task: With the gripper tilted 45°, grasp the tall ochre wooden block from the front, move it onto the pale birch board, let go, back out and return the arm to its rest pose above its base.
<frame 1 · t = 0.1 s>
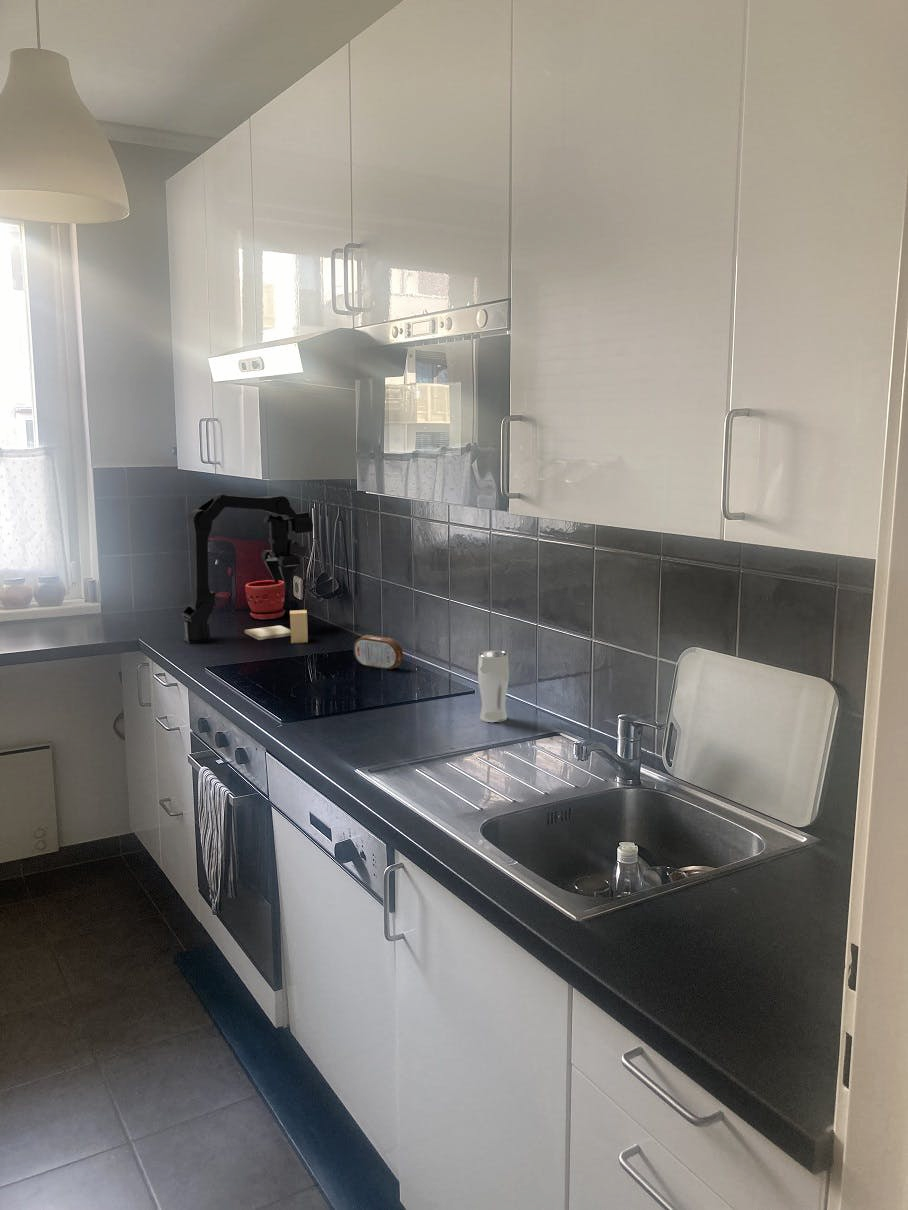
hand: (282, 584, 315), 15 cm above the worktop, tool pointing down, fingers open, 9 cm apart
ochre block: (299, 640, 301), on the worktop
plant pot: (266, 617, 338), on the worktop
tin: (377, 668, 269), on the worktop
birch board: (269, 634, 311), on the worktop
beer glass: (493, 719, 222), on the worktop
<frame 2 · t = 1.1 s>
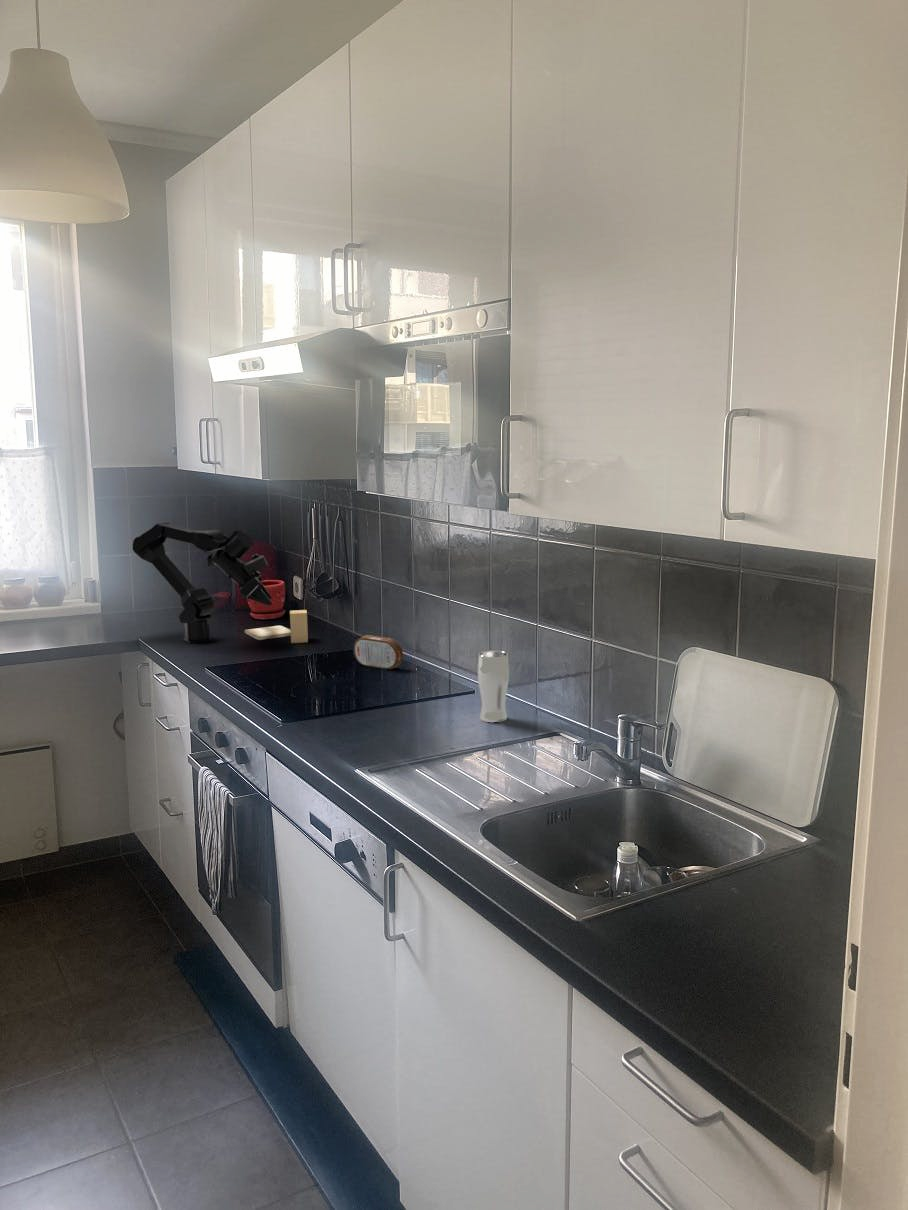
hand: (270, 601, 298), 12 cm above the worktop, tool tilted 45°, fingers open, 9 cm apart
nothing on the worktop moved.
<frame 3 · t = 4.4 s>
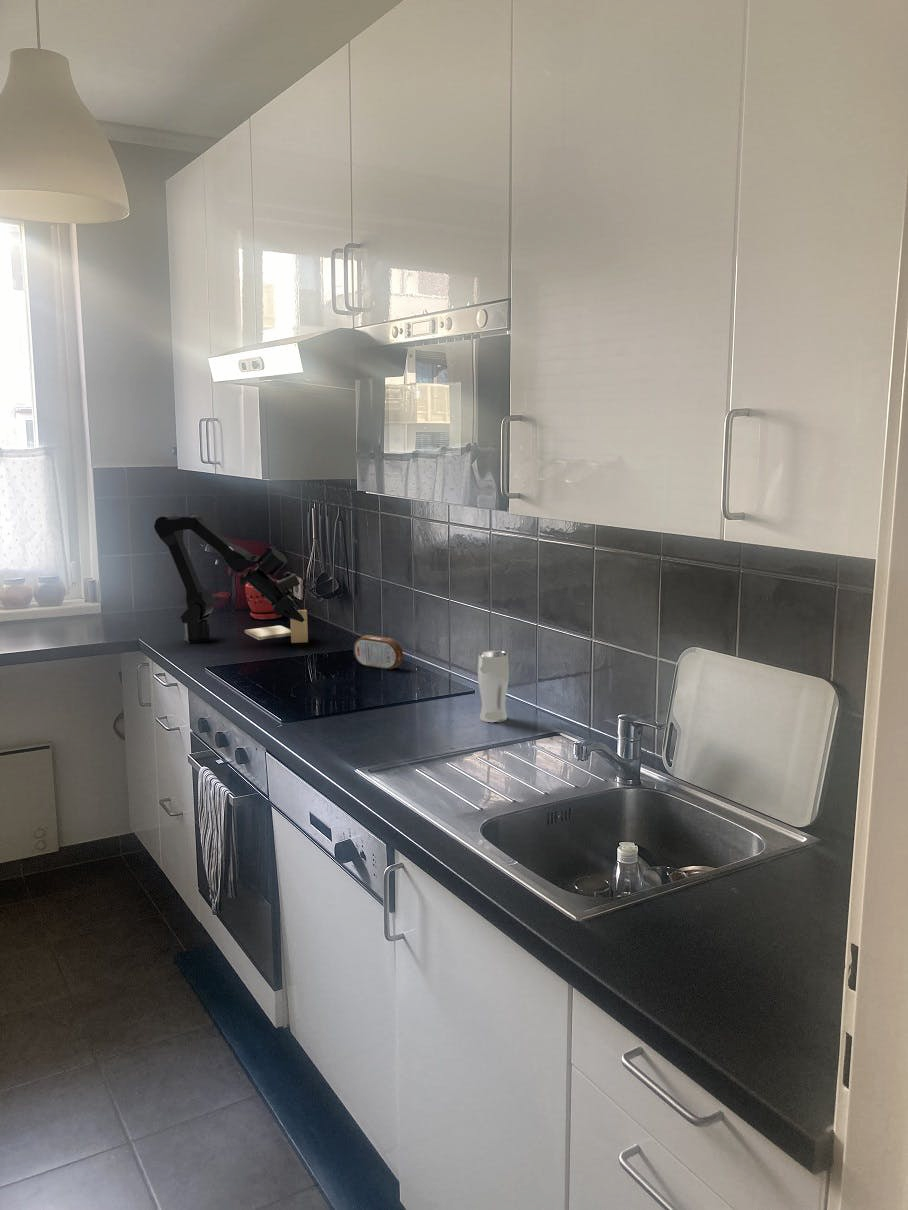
hand: (303, 619, 300), 7 cm above the worktop, tool tilted 45°, fingers closed on ochre block, 5 cm apart
ochre block: (299, 640, 301), on the worktop, touching gripper
everything else where it was.
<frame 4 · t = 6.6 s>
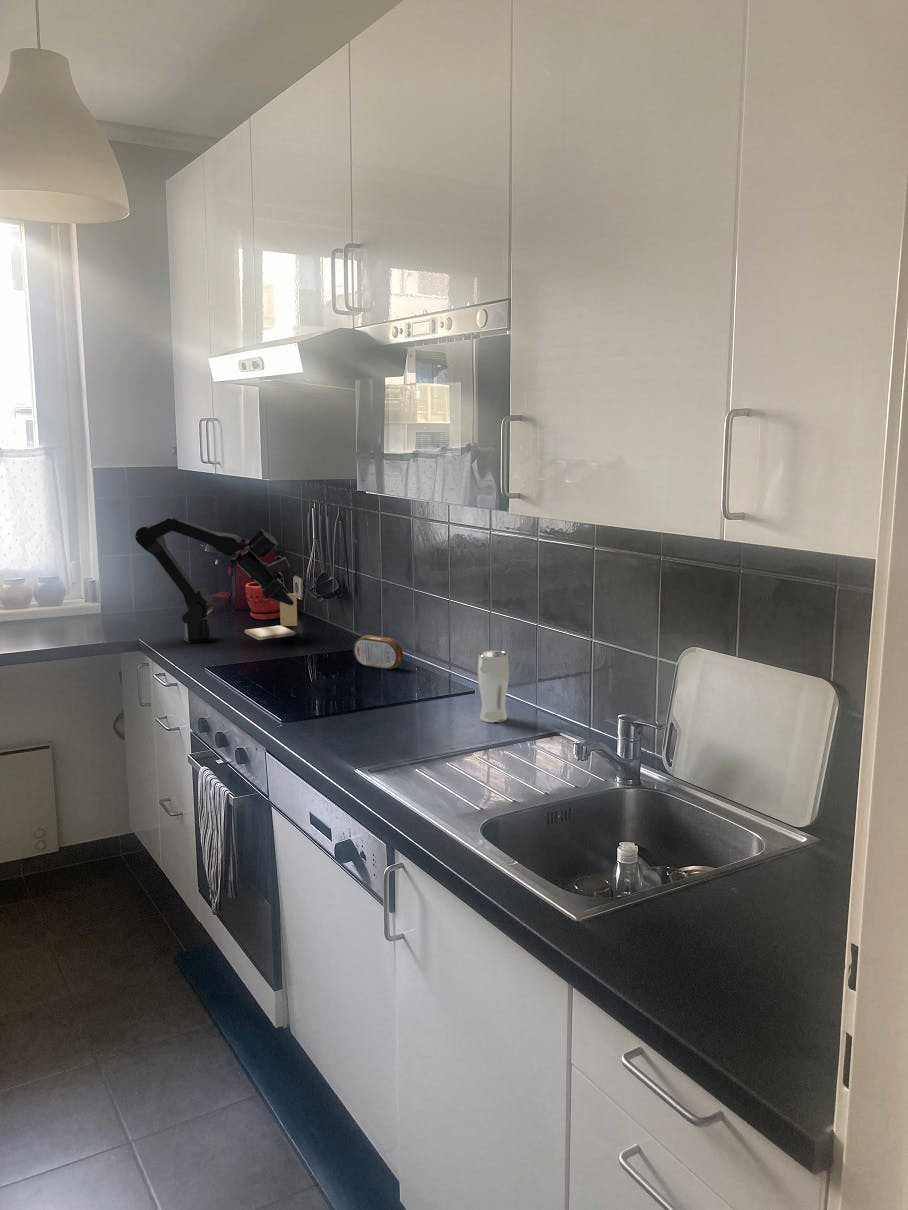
hand: (292, 602, 302), 11 cm above the worktop, tool tilted 45°, fingers closed on ochre block, 5 cm apart
ochre block: (288, 624, 303), point 5 cm above the worktop, touching gripper
everything else where it was.
when the fingers open (8 cm above the worktop, at t = 8.8 s): ochre block stays where it is, resting on birch board.
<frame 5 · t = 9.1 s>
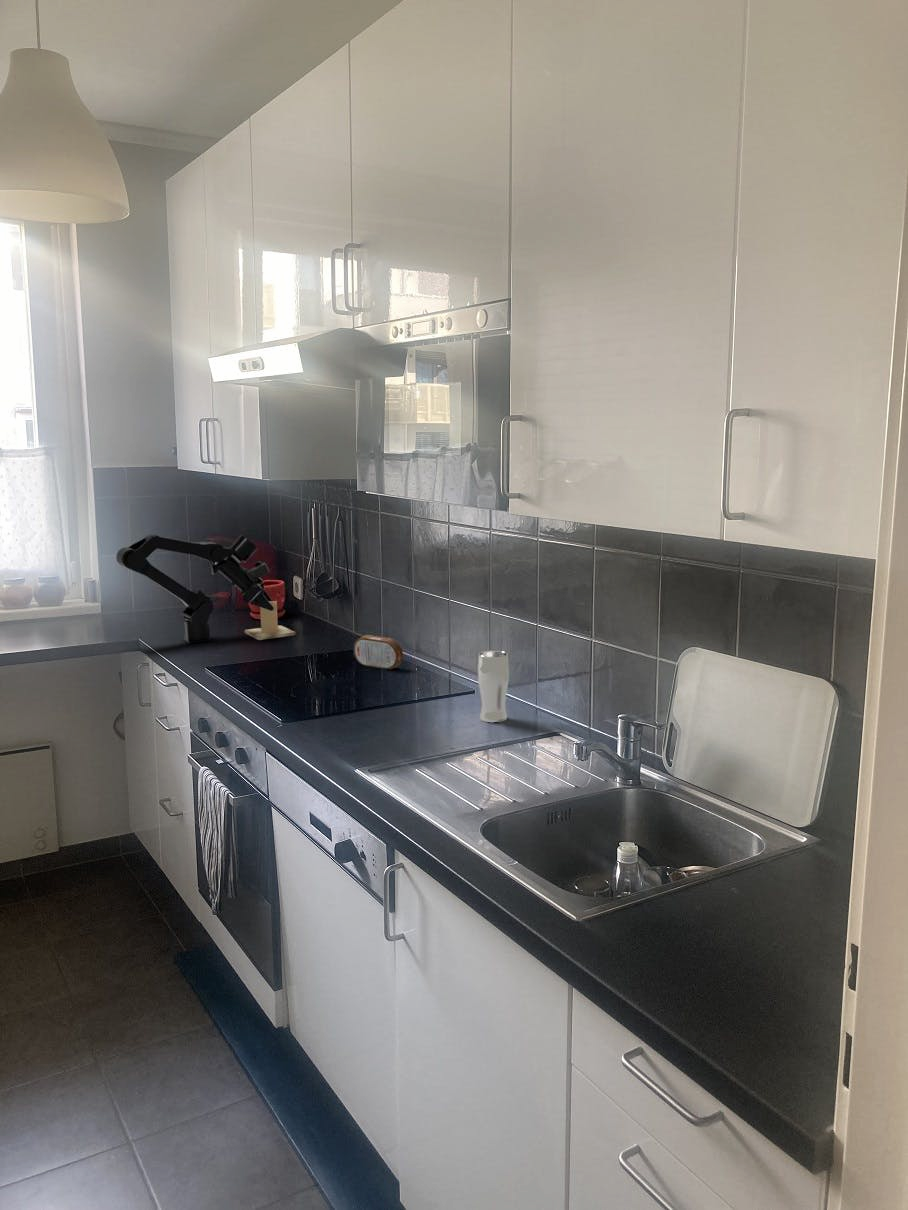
hand: (273, 607, 310), 9 cm above the worktop, tool tilted 45°, fingers open, 8 cm apart
ochre block: (269, 630, 311), point 1 cm above the worktop, touching birch board
everything else where it was.
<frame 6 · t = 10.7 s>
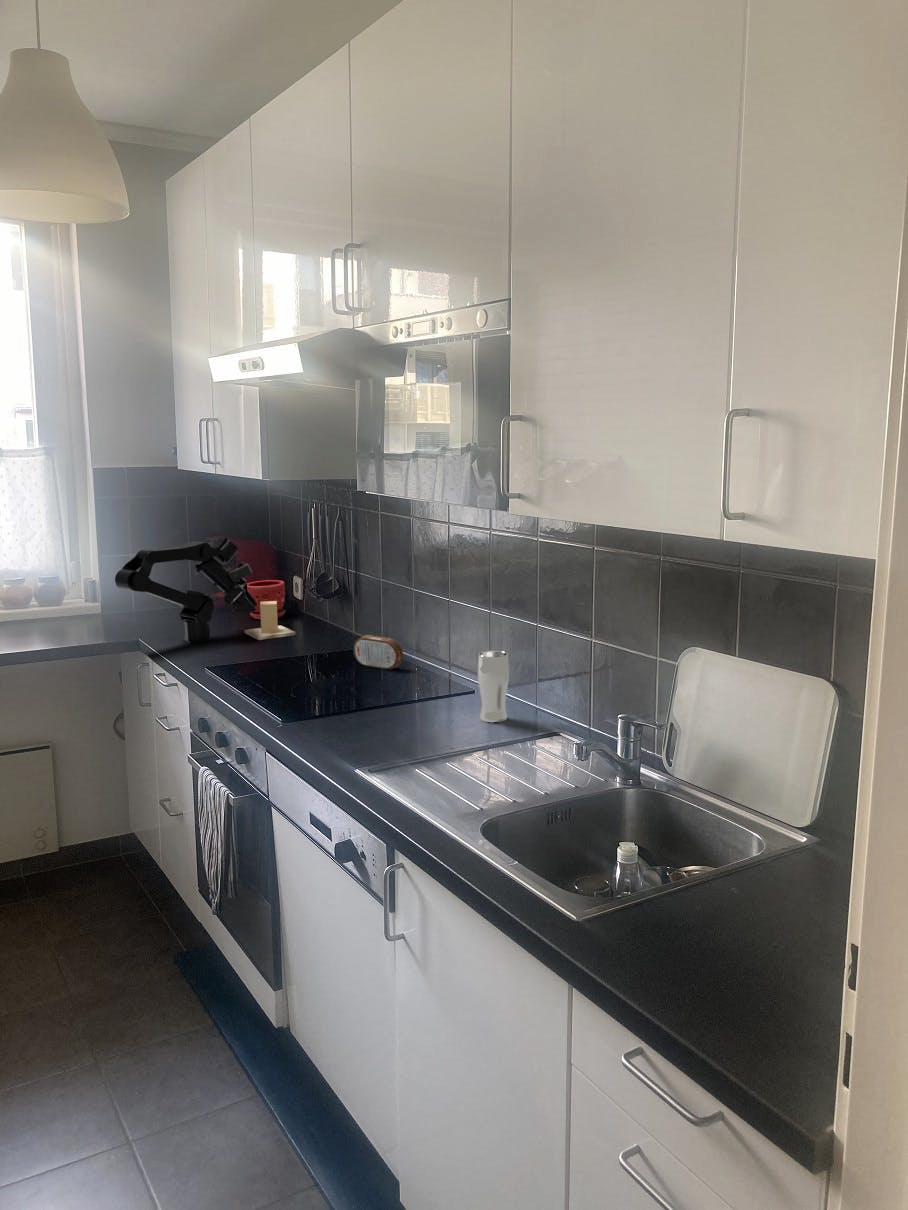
hand: (255, 608, 309), 9 cm above the worktop, tool tilted 45°, fingers open, 9 cm apart
nothing on the worktop moved.
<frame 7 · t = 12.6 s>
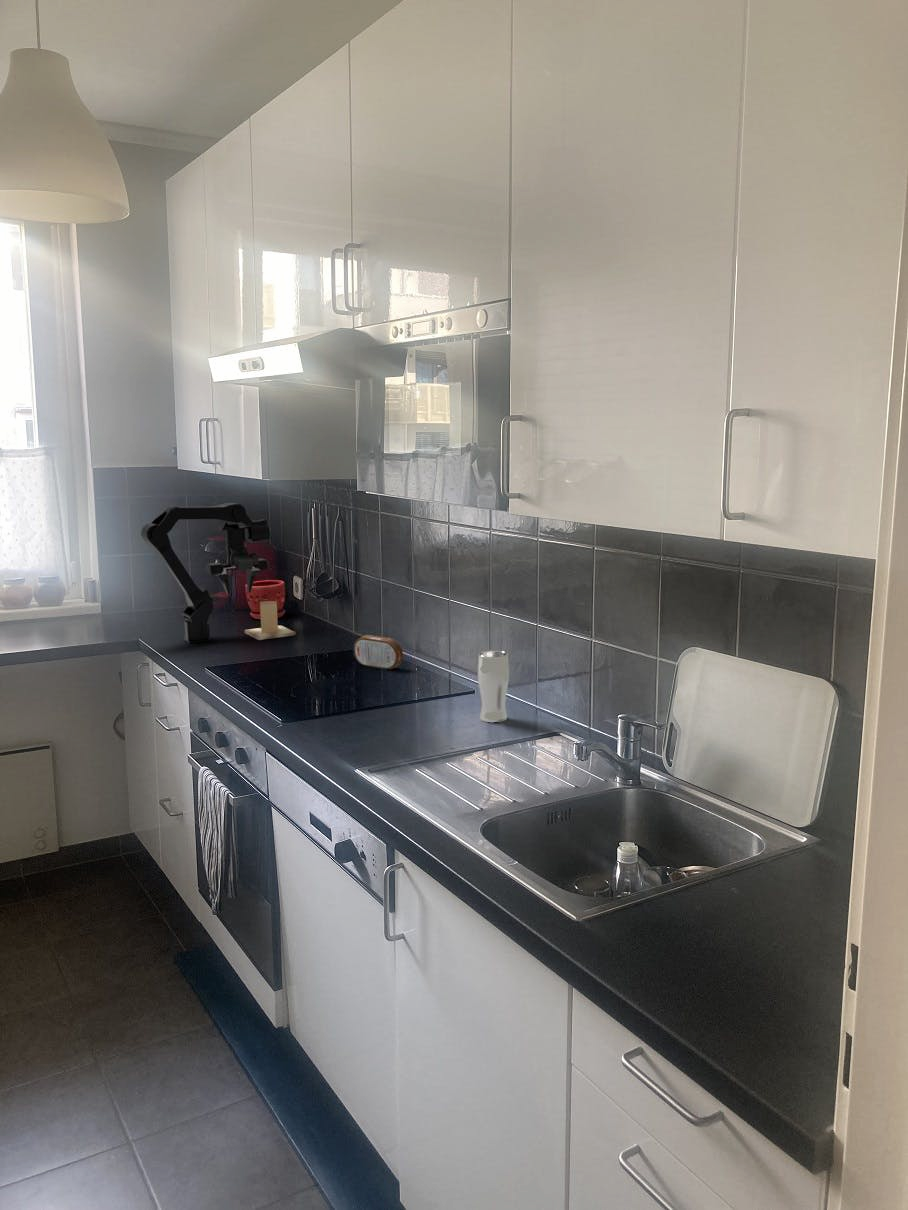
hand: (238, 593, 308), 13 cm above the worktop, tool pointing down, fingers open, 6 cm apart
nothing on the worktop moved.
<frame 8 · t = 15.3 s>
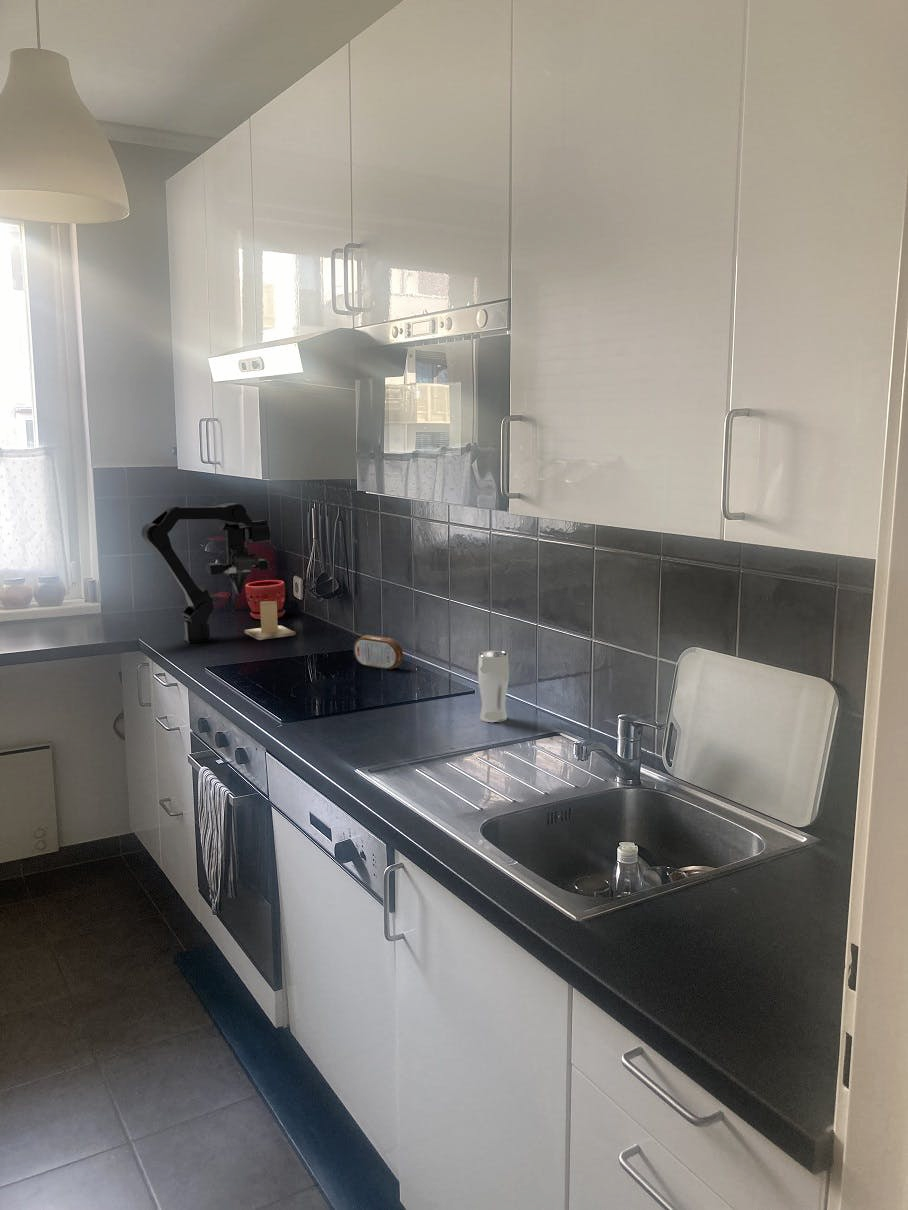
hand: (238, 594, 308), 13 cm above the worktop, tool pointing down, fingers closed
nothing on the worktop moved.
at the end: ochre block inside the target area on the birch board (0.0 cm from its centre), point 1.0 cm above the birch board's base; ochre block tilted 0°; the gripper is holding nothing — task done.
